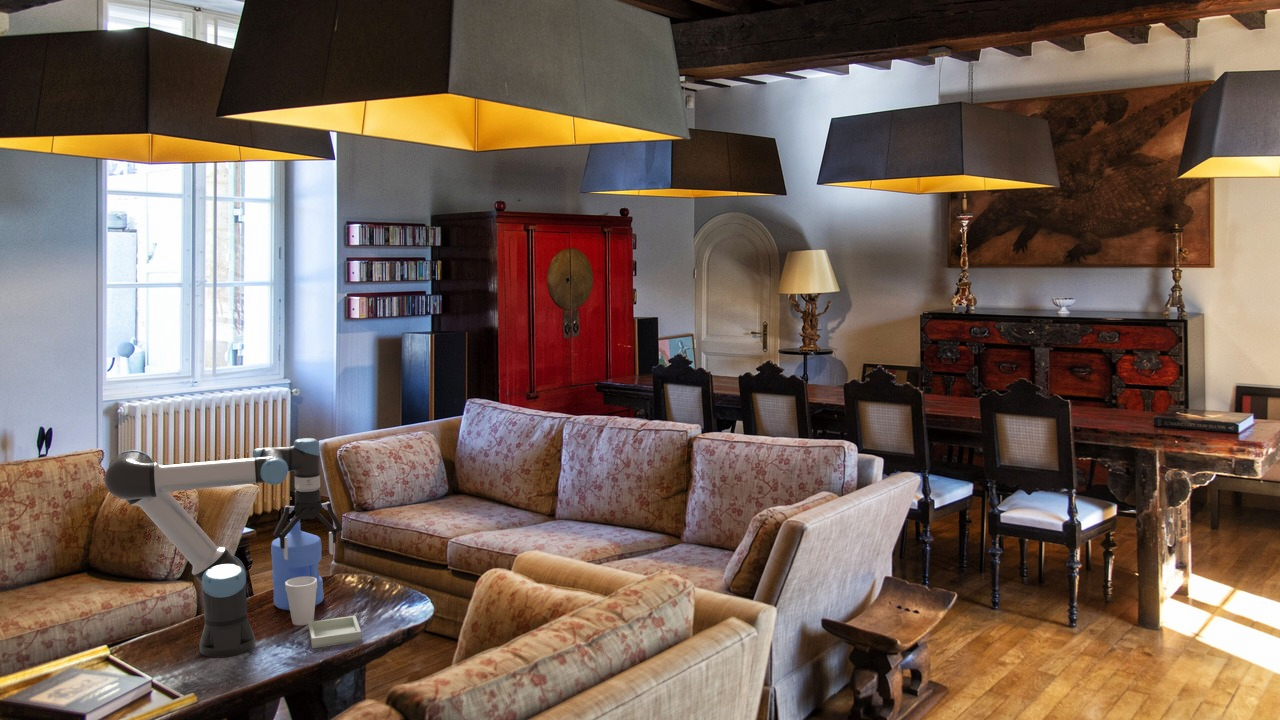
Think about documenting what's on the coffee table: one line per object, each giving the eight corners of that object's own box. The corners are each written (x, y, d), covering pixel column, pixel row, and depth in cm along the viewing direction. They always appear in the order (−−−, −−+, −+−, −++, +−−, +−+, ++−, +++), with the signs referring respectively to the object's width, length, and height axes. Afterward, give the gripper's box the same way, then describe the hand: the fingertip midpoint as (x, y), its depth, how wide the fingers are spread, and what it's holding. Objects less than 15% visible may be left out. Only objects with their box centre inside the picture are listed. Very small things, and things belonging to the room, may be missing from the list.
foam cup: (312, 627, 326) (310, 586, 325) (282, 627, 326) (280, 586, 325) (322, 615, 336) (320, 576, 334) (293, 615, 336) (291, 576, 334)
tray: (312, 648, 310) (311, 638, 310) (308, 631, 323) (308, 621, 323) (361, 641, 315) (361, 631, 315) (355, 624, 328) (355, 615, 328)
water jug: (263, 607, 343) (258, 523, 340) (296, 591, 358) (292, 510, 354) (301, 613, 337) (297, 528, 334) (334, 597, 352) (330, 515, 348)
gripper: (266, 495, 318) (267, 564, 320) (351, 488, 329) (351, 554, 331) (263, 489, 324) (264, 556, 327) (346, 482, 336) (347, 547, 338)
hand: (308, 555), depth 329 cm, fingers open, 13 cm apart
